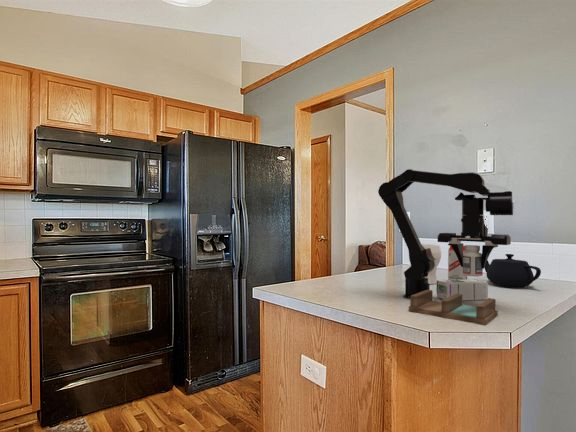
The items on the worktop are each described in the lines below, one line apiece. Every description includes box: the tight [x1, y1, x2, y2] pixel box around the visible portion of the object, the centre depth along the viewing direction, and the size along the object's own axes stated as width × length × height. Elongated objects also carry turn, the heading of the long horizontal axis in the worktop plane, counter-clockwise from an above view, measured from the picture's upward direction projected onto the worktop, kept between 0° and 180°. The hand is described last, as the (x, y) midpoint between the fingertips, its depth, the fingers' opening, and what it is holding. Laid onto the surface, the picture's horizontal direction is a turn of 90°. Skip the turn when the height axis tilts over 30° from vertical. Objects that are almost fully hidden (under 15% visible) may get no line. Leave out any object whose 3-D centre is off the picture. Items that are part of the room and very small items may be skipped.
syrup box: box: [435, 278, 489, 302], centre depth 114 cm, size 6×6×14 cm
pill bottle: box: [463, 244, 484, 277], centre depth 107 cm, size 5×5×9 cm
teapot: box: [484, 253, 542, 289], centre depth 140 cm, size 25×16×12 cm, turn 21°
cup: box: [421, 243, 442, 285], centre depth 144 cm, size 11×11×15 cm
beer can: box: [447, 244, 468, 280], centre depth 128 cm, size 6×6×16 cm
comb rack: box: [408, 289, 498, 326], centre depth 96 cm, size 19×12×4 cm, turn 48°
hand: (472, 267), depth 107 cm, fingers closed on pill bottle, 5 cm apart
